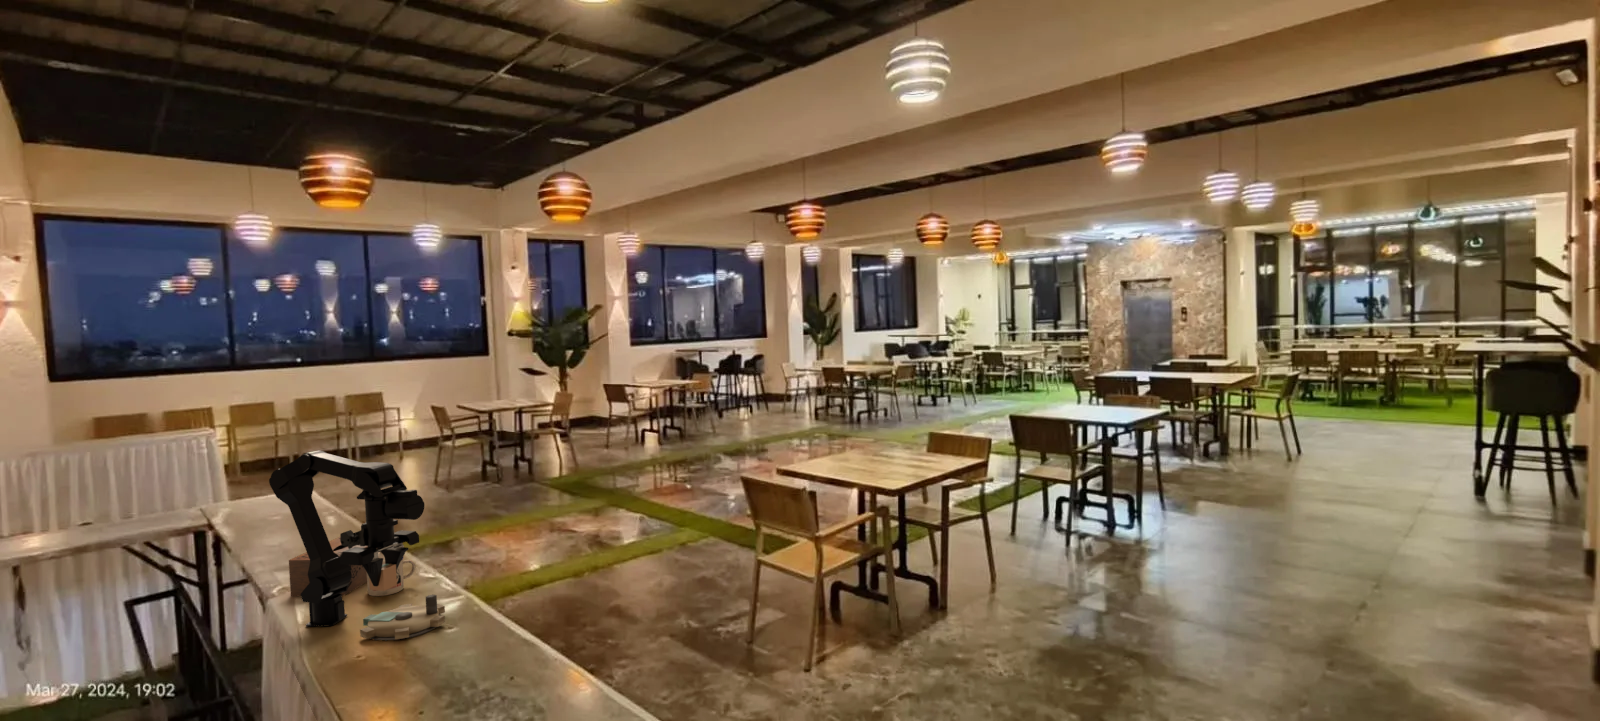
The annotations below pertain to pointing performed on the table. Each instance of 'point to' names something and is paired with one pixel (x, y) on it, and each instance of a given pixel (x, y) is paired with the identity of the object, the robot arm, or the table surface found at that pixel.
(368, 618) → the sprocket disc
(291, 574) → the tissue box cover
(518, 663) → the table surface
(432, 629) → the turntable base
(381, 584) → the link block
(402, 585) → the teacup with lid
